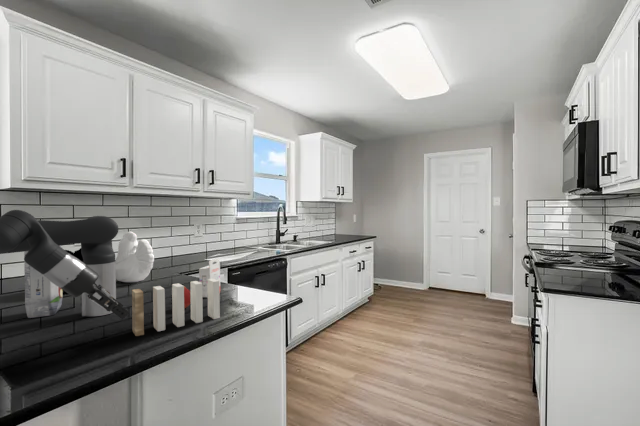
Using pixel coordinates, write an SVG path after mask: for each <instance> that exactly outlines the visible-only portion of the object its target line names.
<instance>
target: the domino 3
mask: <svg viewBox="0 0 640 426" xmlns="http://www.w3.org/2000/svg"><path fill="white" fill-rule="evenodd" d="M189 283H190V285H189V286H190V289H189V290H190V296H191V304H190V320H191V321H193V322H194V323H195V324H199V323H203V321H204V319H203V318H204V317H203V314H204V313H203V305H204V304H203V300H204V299H203V297H202V283H200V281H198V280H193V281H190V282H189Z"/></svg>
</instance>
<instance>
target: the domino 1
mask: <svg viewBox="0 0 640 426" xmlns="http://www.w3.org/2000/svg"><path fill="white" fill-rule="evenodd" d="M165 293H166V290H165V288H164V287H162V286H161V285H157V286H152V300H153V301H152V304H153V305H152V309H153V313H152V314H153V315H152V316H153V317H152V318H153V319H152V320H153V328H154V329H155V330H156V332H161V331H165V330H166V294H165Z"/></svg>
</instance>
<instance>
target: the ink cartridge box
mask: <svg viewBox="0 0 640 426" xmlns="http://www.w3.org/2000/svg"><path fill="white" fill-rule="evenodd" d="M198 274H199V277H198V278H199V282H200V283H202V298H208V290H207V279H216V280H218V281H219V289H220V290H221V263H220V258H215V259H212V260H208V265H205V266H203V267H200V268H198Z"/></svg>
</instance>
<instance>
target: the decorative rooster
mask: <svg viewBox="0 0 640 426" xmlns="http://www.w3.org/2000/svg"><path fill="white" fill-rule="evenodd" d="M117 246H118V248H117V250H118V251H117V255H116V257H115V269H116V281H119V282H122V283H138V282H141V281H144V280H145V279H146V278H147V277H148V276H149V275H150V272H151V271H152V269H153V267H154V262H155V255H154V250H153V246H152V245H151V244H150V241H148V239H144V238H143V239H140V240H138V235H137V234H136V233H135V232H133V231H125V232H124V233H123V235H122V238H121V239H120V240H119V242H118V245H117Z"/></svg>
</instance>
